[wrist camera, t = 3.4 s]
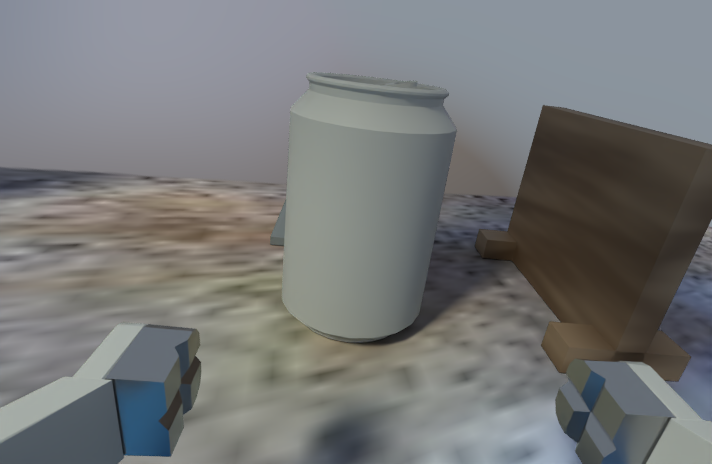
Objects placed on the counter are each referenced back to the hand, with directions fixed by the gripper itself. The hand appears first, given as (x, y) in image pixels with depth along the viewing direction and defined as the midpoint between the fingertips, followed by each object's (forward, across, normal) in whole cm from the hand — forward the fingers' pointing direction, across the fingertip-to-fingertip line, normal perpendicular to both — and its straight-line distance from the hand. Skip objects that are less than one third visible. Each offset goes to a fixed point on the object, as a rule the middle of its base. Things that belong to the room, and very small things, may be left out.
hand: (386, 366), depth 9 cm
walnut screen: (+15, -13, +7) cm, 21 cm away
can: (+12, 0, +7) cm, 14 cm away
